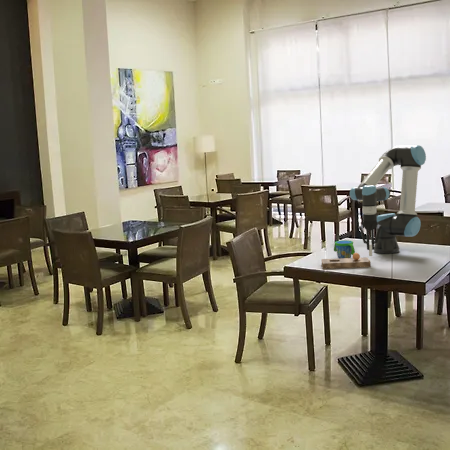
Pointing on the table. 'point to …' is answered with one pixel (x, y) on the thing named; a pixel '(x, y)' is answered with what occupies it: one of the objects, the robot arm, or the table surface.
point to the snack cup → (344, 248)
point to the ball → (356, 256)
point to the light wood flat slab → (345, 263)
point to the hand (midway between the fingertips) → (370, 255)
